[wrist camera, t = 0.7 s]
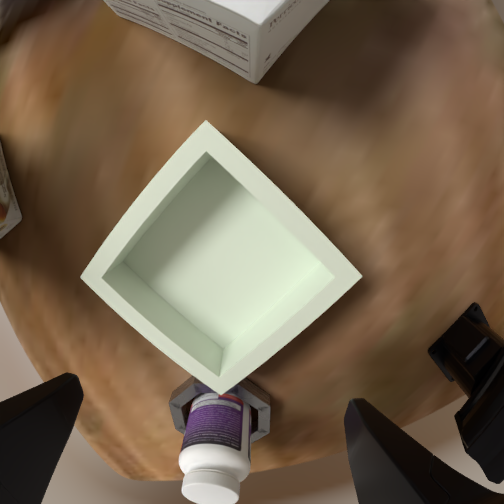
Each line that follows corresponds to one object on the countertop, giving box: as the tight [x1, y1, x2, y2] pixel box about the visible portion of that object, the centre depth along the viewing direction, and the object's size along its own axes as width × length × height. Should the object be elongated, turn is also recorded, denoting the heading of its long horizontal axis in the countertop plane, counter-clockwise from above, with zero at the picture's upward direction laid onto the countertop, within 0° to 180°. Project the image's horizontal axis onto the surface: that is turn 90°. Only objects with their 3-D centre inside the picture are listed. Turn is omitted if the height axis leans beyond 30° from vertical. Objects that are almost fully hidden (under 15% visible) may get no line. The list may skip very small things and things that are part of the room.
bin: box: [80, 120, 362, 395], centre depth 19 cm, size 12×12×4 cm
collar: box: [169, 376, 270, 443], centre depth 24 cm, size 9×9×2 cm
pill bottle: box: [179, 393, 251, 504], centre depth 20 cm, size 5×5×10 cm
